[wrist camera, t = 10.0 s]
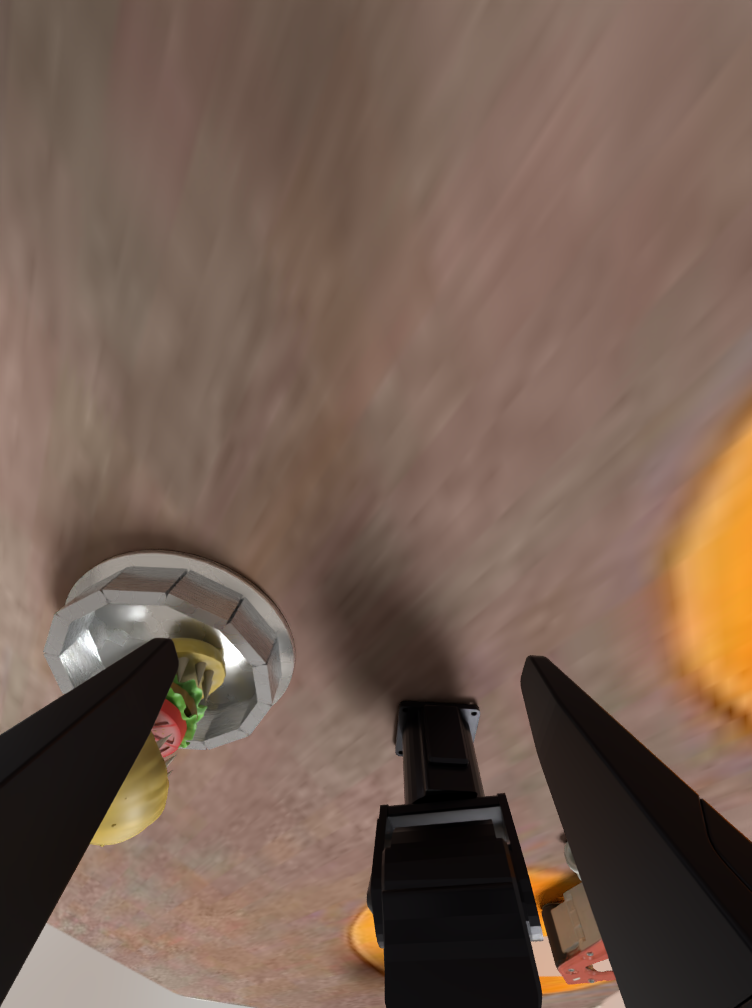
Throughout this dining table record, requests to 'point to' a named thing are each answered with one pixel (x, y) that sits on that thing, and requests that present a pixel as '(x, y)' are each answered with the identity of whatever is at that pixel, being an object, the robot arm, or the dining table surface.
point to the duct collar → (178, 632)
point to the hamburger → (164, 743)
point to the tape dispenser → (575, 934)
